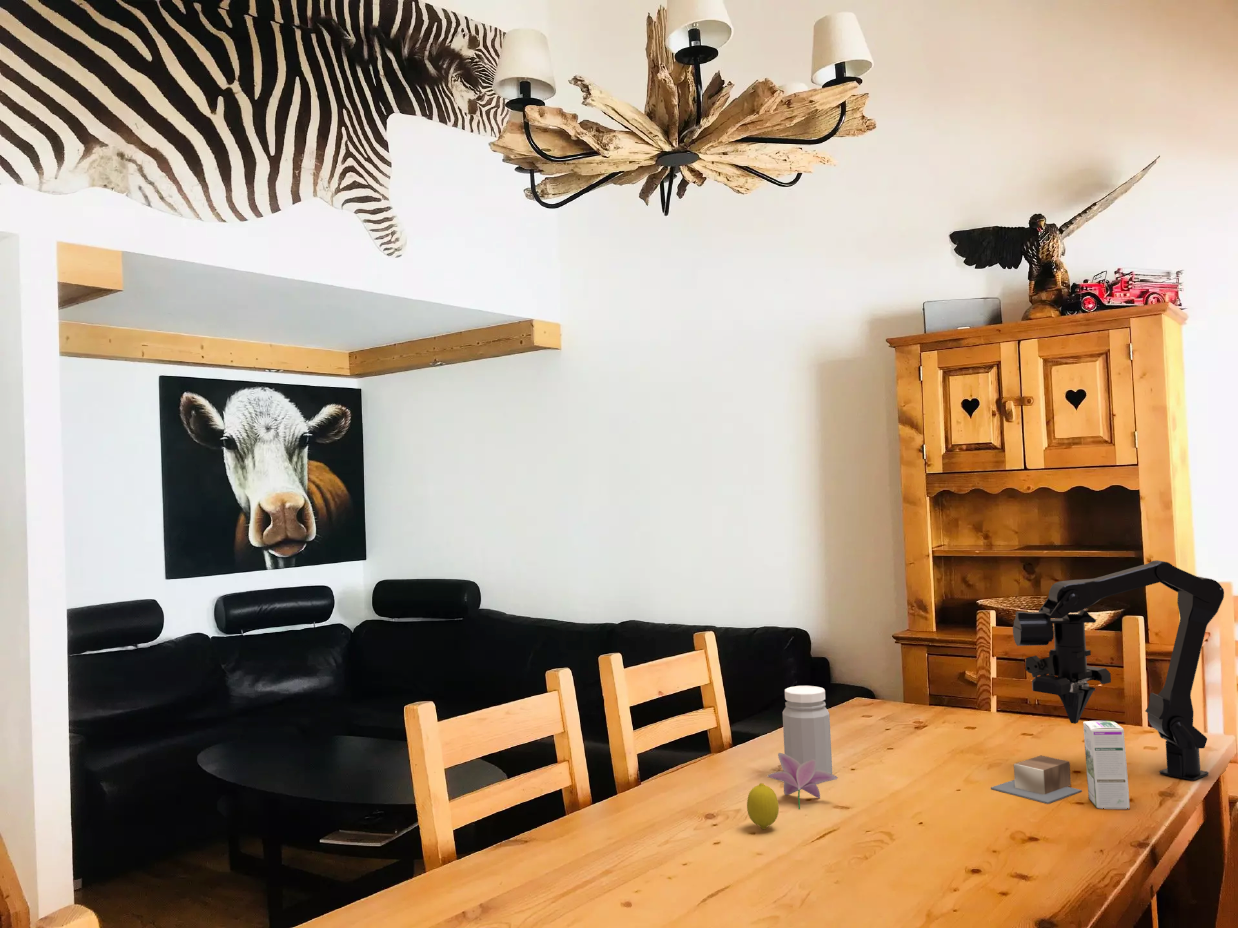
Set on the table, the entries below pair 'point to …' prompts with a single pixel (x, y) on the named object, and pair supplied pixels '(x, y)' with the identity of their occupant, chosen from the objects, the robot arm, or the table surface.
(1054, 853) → the table surface
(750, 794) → the lemon
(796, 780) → the lily
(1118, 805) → the syrup box
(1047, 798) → the rubber mat
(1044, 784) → the walnut block
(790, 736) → the jar
